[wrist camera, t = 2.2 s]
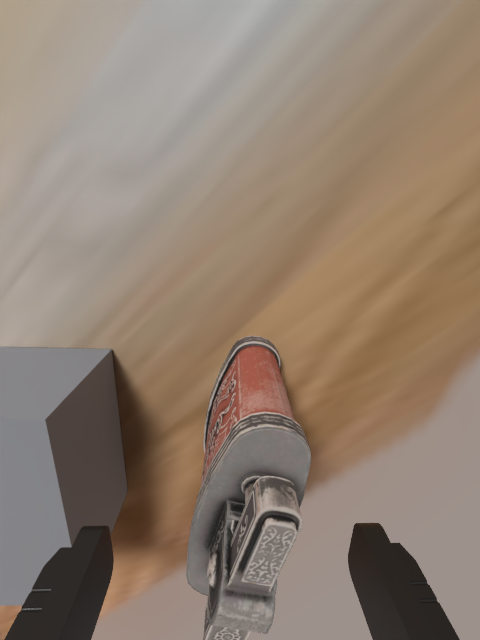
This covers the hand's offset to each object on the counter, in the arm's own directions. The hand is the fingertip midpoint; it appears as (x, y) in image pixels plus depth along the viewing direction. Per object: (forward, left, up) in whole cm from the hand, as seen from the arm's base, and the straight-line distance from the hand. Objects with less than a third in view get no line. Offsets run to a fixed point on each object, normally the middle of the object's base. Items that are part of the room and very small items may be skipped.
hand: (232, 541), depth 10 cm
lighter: (0, 0, -8) cm, 8 cm away
